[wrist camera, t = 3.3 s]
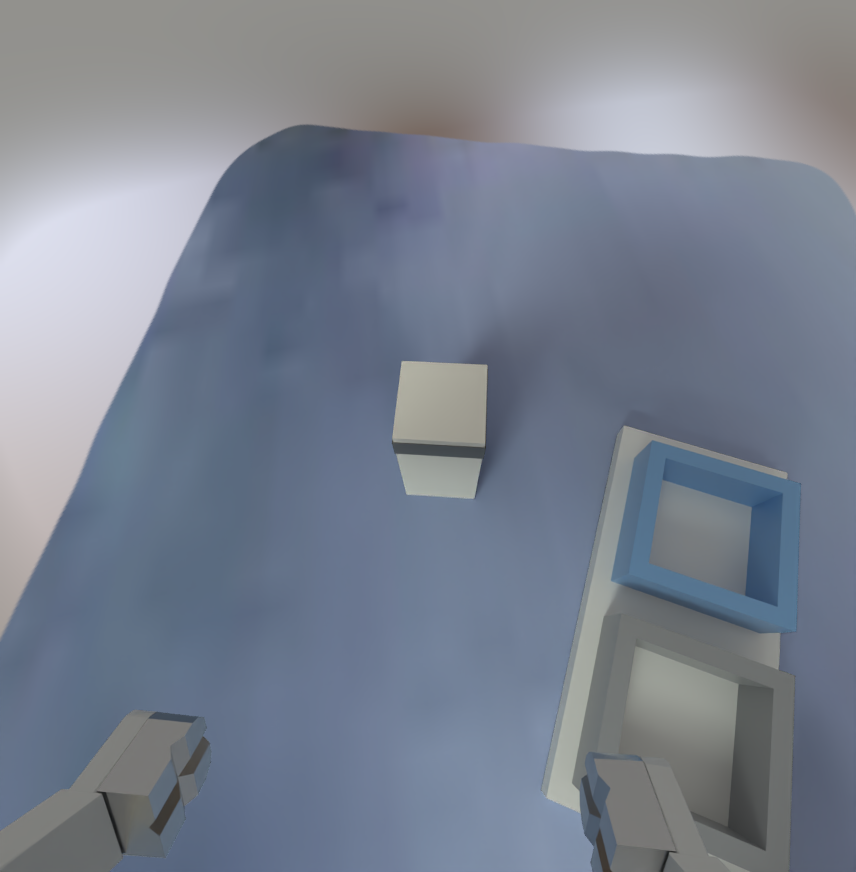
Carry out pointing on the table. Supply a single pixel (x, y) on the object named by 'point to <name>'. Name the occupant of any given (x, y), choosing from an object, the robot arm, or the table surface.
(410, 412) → the plug
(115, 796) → the robot arm
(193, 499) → the table surface
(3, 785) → the table surface
